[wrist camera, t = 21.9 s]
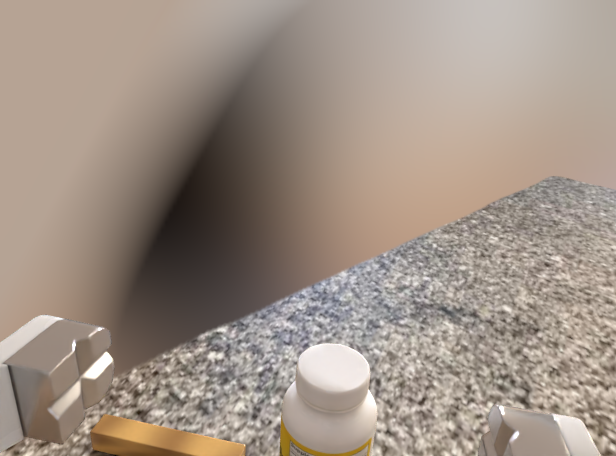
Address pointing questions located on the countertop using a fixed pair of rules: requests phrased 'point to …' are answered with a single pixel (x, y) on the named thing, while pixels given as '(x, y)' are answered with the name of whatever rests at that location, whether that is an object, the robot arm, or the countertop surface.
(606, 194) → the countertop surface
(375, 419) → the supplement bottle
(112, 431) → the wooden bar
